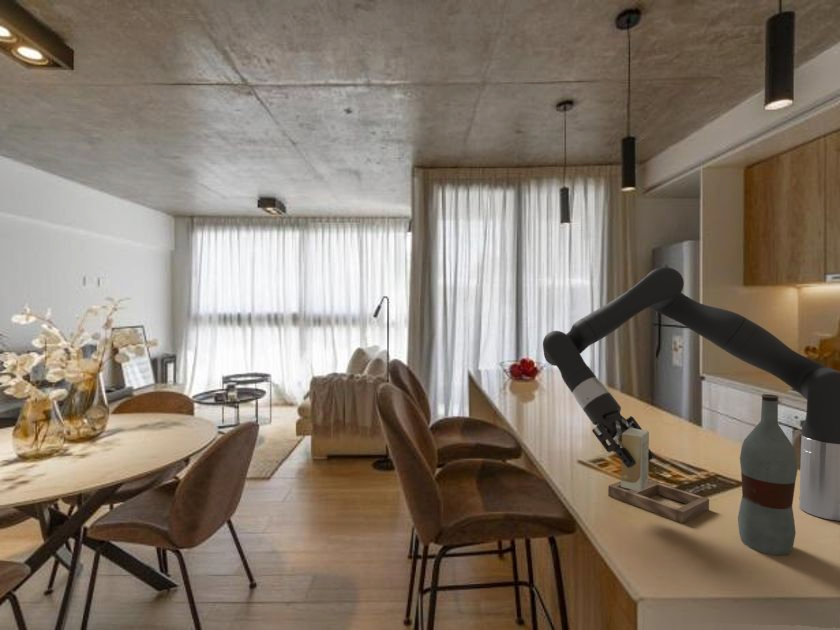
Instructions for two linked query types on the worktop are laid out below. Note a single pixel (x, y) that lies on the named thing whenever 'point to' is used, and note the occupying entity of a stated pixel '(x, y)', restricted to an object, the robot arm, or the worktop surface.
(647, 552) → the worktop surface
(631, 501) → the slot holder
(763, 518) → the bottle
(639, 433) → the skincare box
